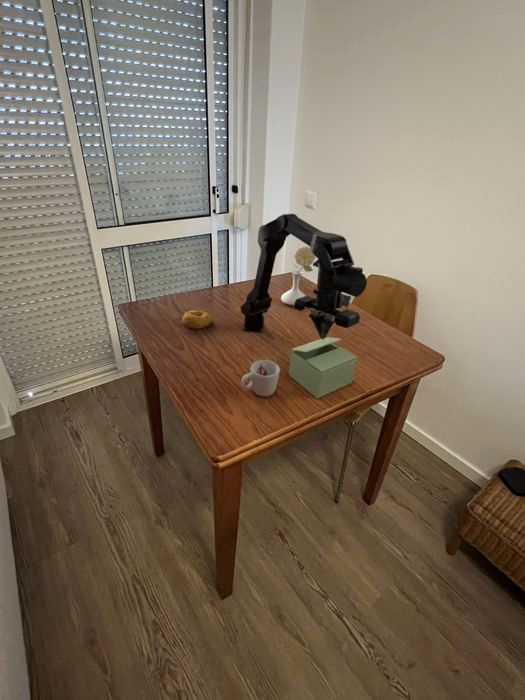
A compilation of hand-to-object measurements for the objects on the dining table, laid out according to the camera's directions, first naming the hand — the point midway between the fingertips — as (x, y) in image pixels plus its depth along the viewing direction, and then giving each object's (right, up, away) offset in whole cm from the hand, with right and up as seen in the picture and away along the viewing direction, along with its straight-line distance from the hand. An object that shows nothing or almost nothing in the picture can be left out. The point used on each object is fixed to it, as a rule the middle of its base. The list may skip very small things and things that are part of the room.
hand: (322, 338), depth 100 cm
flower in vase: (-3, +17, +52) cm, 55 cm away
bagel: (-42, +7, +32) cm, 53 cm away
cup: (-18, -15, -1) cm, 24 cm away
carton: (0, -12, +6) cm, 13 cm away
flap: (-1, -2, +3) cm, 4 cm away
